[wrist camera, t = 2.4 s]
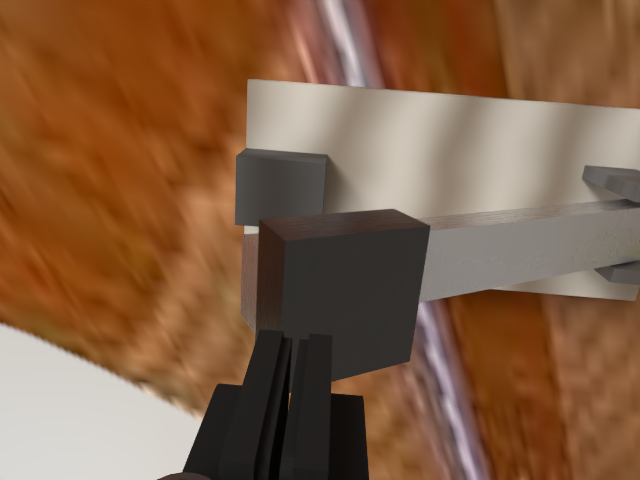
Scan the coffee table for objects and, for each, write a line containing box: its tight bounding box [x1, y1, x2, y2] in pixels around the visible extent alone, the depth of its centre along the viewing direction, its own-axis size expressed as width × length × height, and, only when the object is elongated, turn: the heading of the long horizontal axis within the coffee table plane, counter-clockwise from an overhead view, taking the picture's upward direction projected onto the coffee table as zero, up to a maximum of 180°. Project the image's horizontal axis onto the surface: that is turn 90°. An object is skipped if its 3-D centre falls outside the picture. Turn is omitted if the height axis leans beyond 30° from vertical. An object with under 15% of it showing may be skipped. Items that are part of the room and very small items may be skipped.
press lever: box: [241, 199, 640, 393], centre depth 20 cm, size 22×5×4 cm
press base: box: [235, 79, 640, 301], centre depth 28 cm, size 26×12×8 cm, turn 86°
